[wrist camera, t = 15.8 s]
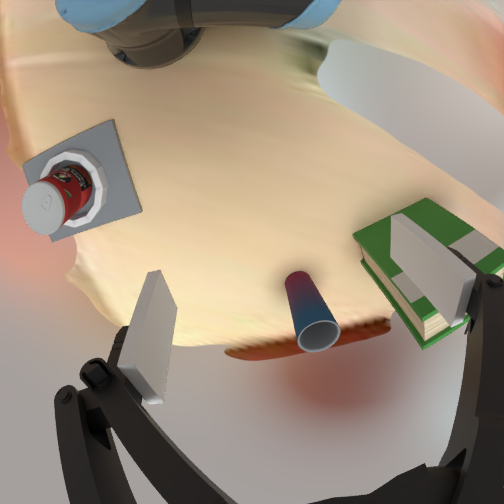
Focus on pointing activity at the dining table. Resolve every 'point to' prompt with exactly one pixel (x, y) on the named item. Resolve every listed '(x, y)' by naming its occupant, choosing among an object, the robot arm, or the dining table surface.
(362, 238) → the hardback book
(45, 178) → the canned food
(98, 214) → the holder
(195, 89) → the dining table surface
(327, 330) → the cup
